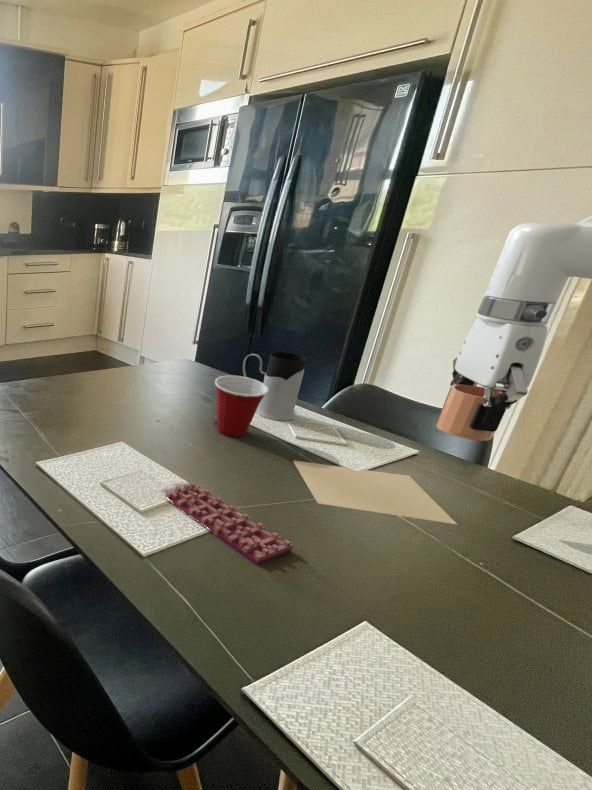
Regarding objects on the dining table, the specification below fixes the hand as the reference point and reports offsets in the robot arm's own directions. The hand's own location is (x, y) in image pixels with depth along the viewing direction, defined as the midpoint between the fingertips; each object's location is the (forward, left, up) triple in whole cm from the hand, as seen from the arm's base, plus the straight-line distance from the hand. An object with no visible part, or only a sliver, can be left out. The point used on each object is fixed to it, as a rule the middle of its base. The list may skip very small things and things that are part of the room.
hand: (467, 419), depth 79 cm
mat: (+9, 0, -16) cm, 19 cm away
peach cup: (0, 0, -2) cm, 2 cm away
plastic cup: (+29, -21, -16) cm, 40 cm away
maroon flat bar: (+36, +17, -16) cm, 43 cm away
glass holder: (+19, -38, -16) cm, 46 cm away
